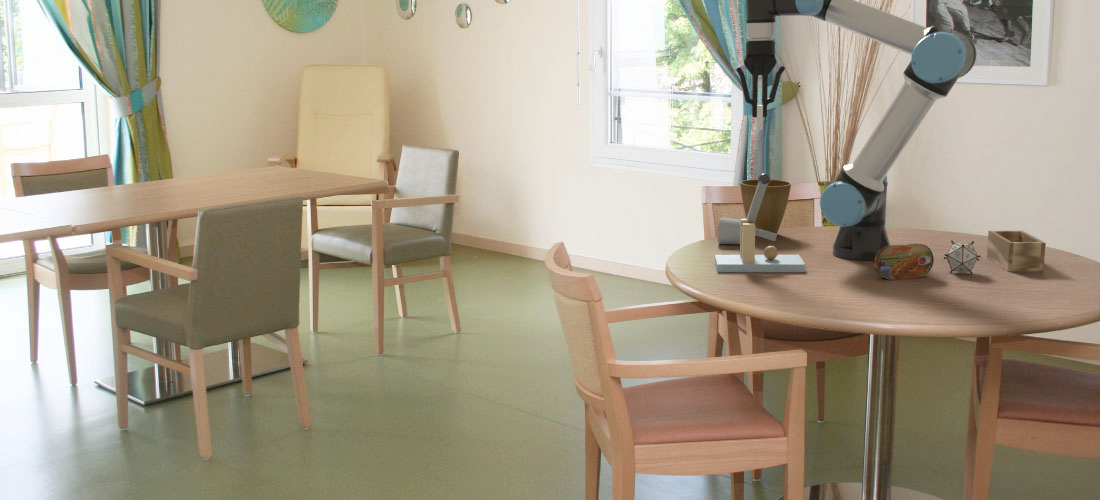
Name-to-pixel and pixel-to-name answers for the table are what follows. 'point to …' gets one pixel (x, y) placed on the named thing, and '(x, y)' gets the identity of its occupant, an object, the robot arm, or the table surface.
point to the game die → (962, 257)
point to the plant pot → (767, 203)
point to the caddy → (1016, 250)
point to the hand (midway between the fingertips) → (759, 129)
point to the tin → (903, 261)
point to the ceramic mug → (729, 231)
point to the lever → (755, 205)
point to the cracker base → (757, 257)
